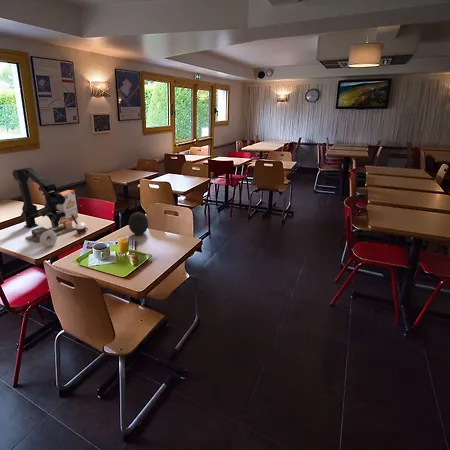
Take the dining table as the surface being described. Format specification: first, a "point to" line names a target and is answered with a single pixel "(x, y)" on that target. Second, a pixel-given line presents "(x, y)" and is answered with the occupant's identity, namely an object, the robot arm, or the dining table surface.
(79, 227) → the cocoa
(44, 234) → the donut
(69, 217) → the cracker box
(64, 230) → the base board
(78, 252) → the dining table surface
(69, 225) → the socket block
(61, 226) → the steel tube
